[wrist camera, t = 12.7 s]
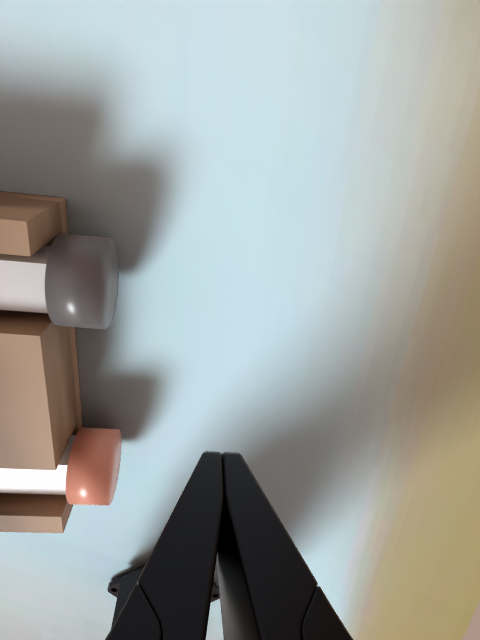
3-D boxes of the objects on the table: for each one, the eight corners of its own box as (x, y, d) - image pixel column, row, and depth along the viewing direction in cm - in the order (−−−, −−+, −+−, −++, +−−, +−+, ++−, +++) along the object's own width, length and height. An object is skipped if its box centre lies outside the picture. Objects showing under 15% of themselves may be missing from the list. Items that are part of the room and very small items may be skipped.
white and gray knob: (117, 227, 19) (95, 254, 15) (119, 305, 21) (99, 346, 17) (-88, 207, 18) (-162, 230, 14) (-68, 290, 20) (-129, 330, 16)
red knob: (121, 414, 24) (104, 467, 20) (121, 464, 26) (107, 521, 22) (-41, 406, 23) (-87, 460, 19) (-28, 458, 25) (-68, 517, 21)
